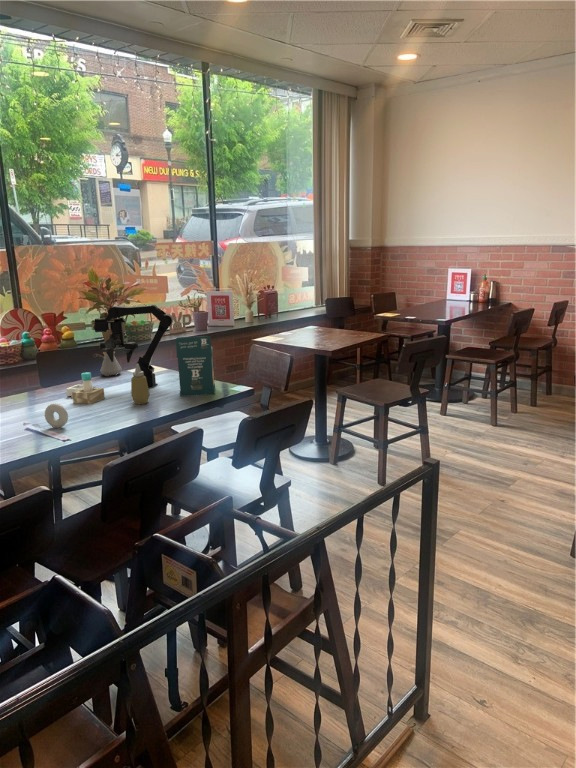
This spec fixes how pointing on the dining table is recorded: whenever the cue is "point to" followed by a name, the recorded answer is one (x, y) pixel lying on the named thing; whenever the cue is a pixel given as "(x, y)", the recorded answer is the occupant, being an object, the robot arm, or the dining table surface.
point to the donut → (61, 412)
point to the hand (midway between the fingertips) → (120, 362)
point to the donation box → (195, 365)
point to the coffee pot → (109, 365)
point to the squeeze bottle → (139, 387)
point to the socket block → (88, 395)
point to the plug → (87, 382)
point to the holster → (73, 389)
